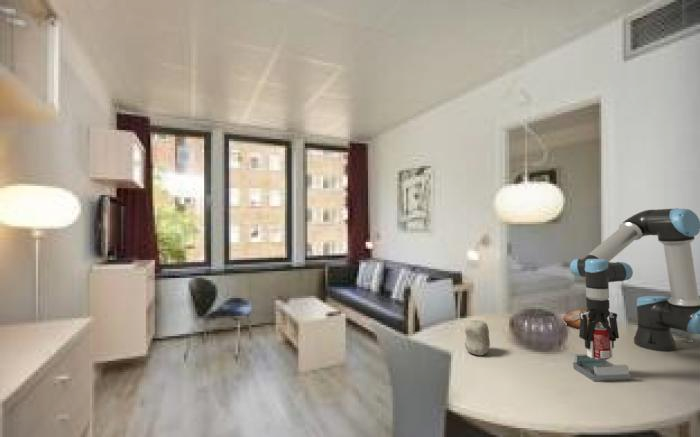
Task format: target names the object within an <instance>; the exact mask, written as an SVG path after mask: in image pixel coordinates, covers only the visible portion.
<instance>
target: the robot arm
mask: <svg viewBox="0 0 700 437" xmlns="http://www.w3.org/2000/svg"><path fill="white" fill-rule="evenodd" d="M699 233H700V218H699V216H698V215H697V214H696V213H695V212H694V211H693V210H691V209H689V208H677V207H675V208H662V209H660V208H659V209H647V210H643V211H640V212H638V213H635V214H634V215H631V216H630V217H628V218H627V219H625V220H624V221H623V222H621V224H620V225H618V229H616V231H615V232H613V233H612V234H610V235H609V236H608V237H607V238H606V239H605V240H603V241H602V242H601V243H600V244H599V245H598V246H597V247H596V248H594V249H593V250H592V251H591V252H589V253H588V254H587V255H585V257H583V258H576V259H575V258H574V259H573V260H572V261H571V262H570V265H569V269H570V270H569V271H570V272H571V273H572V274H573V275H575V276H579V277H582V278H585V296H586V298H585V301H586V303H585V304H586V311H587V312H586V313H583V314H582V313H580V314H579V316H580V329H579V336H578V337H579V338H580V339H582V340H584V347H585V349H586V354H587V356H589V357H590V358H594V353H593V341H591V338H592V335H593V332H594V329H595V326H596V325H597V323H598V322H600V325H601V326H603V327H604V328H607V331H608V332H609V337H610V359H611V358H613V356H614V354H613V349H614V348H615V344H614V343H615V342H616V340H618V339H619V338H620V335H619V334H620V333H619V327H618V320H617V319H618V318H617V317H618V314H617V313H616V312H612V311H610V310H609V309H610V308H611V307H610V299H609V298H610V287H609V283H615V282H616V283H617V282H624V281H629V280H630V279H631V278H632V277H633V273H634V271H633V268H632V266H631V265H630V264H628V263H627V262H623V261H621V262H619V261H616V262H614V261H613V262H611V261H612V260H613V259H615V257H616V256H618V255H619V254H620V253H621V252H622V251H623V250H625V249H626V248H627V247H628V246H629V245H630V244H632V243H633V242H634V241H638V240H641V238H643V237H645V236H646V237H647V236H657V239H658V242H659V243H661V244H662V245H663V250H664V251H663V252H664V254H665V255H664V257H665V262H666V270H667V275H668V276H667V277H668V282H669V290H670V294H671V295H670V297H668V296H662V295H648V296H647V295H646V296H645V295H644V296H639V297H638V298H637V299H636V311H637V312H636V314H637V316H636V317H637V329H636V331H635V334H634V337H633V343H634V344H635V345H636V346H638V347H640V348H644V349H648V350H652V351H653V350H654V351H660V352H661V351H662V352H671V351H672V352H673V351H675V350H677V343H676V342H675V340H674V337H673V334H672V332H671V329H674V330H679V331H683V332H687V333H689V334H697V335H700V297H699V291H698V285H697V278H696V272H695V264H694V257H693V252H692V246H691V243H692V242H694V241H695V237H696V236H698V235H699ZM588 317H589V320H588V326H587V319H588ZM592 321H594V322H592Z"/></svg>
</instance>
